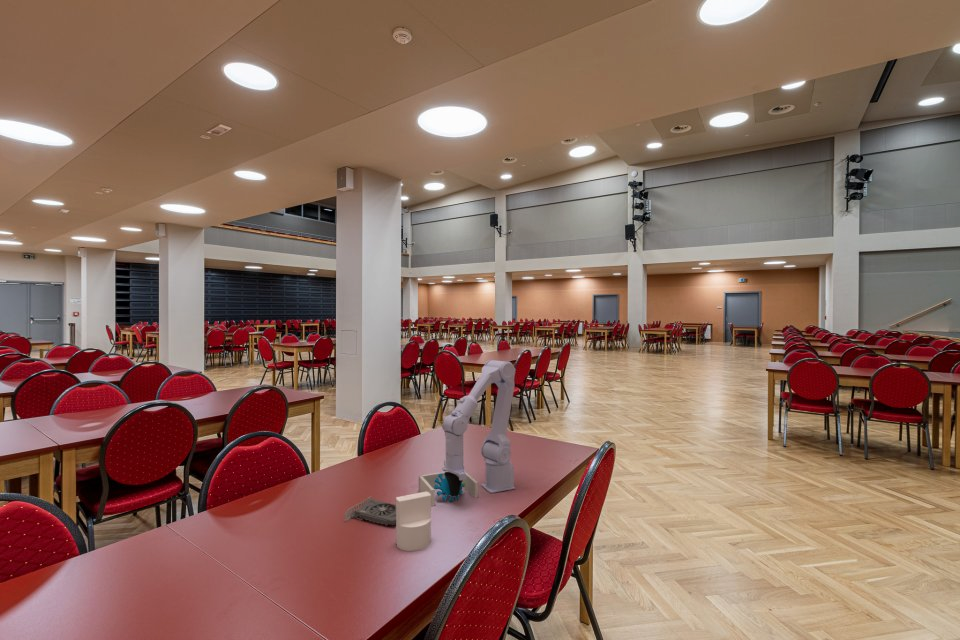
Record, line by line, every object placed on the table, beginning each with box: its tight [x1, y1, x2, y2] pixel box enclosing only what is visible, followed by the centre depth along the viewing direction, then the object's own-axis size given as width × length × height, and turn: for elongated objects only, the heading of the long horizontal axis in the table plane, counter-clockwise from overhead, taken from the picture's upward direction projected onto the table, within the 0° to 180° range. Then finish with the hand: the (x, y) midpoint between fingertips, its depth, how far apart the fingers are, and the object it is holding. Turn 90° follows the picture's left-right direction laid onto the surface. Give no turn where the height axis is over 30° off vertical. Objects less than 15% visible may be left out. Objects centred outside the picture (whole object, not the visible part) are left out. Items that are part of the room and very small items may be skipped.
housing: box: [418, 471, 479, 507], centre depth 146 cm, size 16×14×5 cm
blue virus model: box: [434, 471, 466, 502], centre depth 144 cm, size 11×6×10 cm
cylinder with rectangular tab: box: [395, 491, 432, 552], centre depth 114 cm, size 9×9×12 cm
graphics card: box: [343, 496, 396, 526], centre depth 128 cm, size 17×4×12 cm
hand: (454, 495), depth 140 cm, fingers closed
